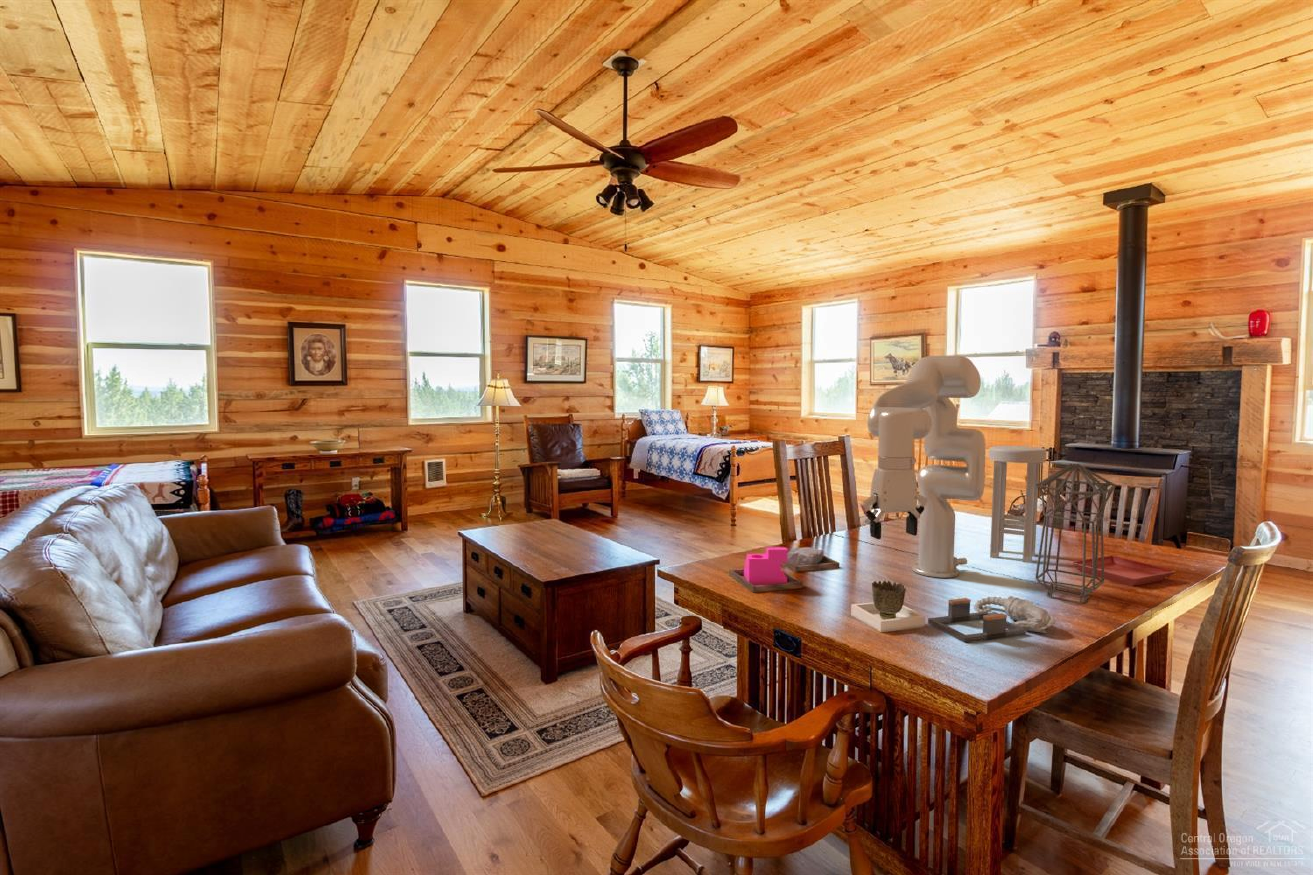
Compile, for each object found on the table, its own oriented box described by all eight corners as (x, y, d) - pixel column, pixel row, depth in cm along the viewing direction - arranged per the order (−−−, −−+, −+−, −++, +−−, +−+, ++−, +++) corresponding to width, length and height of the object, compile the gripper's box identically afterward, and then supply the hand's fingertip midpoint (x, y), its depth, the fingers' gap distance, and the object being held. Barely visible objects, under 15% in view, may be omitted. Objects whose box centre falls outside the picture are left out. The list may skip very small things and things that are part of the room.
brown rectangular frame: (811, 554, 210) (811, 549, 210) (839, 567, 194) (839, 562, 194) (770, 557, 206) (770, 552, 206) (795, 571, 190) (795, 566, 190)
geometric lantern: (1109, 597, 168) (1119, 463, 164) (1096, 613, 156) (1106, 470, 153) (1041, 583, 179) (1048, 457, 175) (1024, 597, 167) (1031, 464, 164)
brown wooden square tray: (774, 570, 191) (774, 565, 191) (802, 587, 175) (802, 582, 175) (729, 574, 187) (729, 569, 187) (753, 592, 171) (753, 586, 171)
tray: (892, 610, 158) (893, 599, 158) (924, 627, 147) (925, 616, 146) (851, 614, 155) (851, 604, 154) (880, 632, 143) (880, 621, 143)
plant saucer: (1134, 589, 174) (1134, 577, 174) (1069, 572, 191) (1070, 561, 191) (1176, 582, 181) (1177, 570, 181) (1110, 565, 198) (1111, 555, 198)
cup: (907, 625, 146) (908, 591, 146) (873, 623, 148) (874, 588, 147) (901, 614, 154) (902, 581, 153) (869, 611, 155) (870, 579, 154)
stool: (989, 547, 218) (994, 444, 215) (1043, 554, 209) (1048, 447, 206) (981, 557, 206) (986, 448, 203) (1037, 565, 197) (1043, 451, 194)
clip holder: (984, 616, 153) (985, 595, 153) (1026, 634, 142) (1027, 612, 141) (927, 623, 149) (928, 602, 149) (965, 643, 137) (966, 620, 137)
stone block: (782, 569, 197) (814, 568, 192) (780, 553, 198) (811, 551, 192) (796, 562, 207) (826, 560, 202) (793, 547, 208) (824, 545, 202)
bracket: (786, 587, 175) (787, 549, 174) (748, 586, 175) (749, 549, 174) (779, 574, 187) (779, 539, 186) (743, 573, 187) (744, 539, 186)
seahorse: (957, 607, 157) (1039, 622, 139) (984, 584, 162) (1066, 596, 145) (964, 626, 157) (1046, 643, 140) (990, 603, 163) (1073, 616, 145)
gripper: (916, 459, 155) (914, 529, 157) (853, 463, 151) (852, 535, 153) (937, 463, 148) (935, 536, 150) (872, 468, 144) (871, 543, 145)
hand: (893, 535), depth 151 cm, fingers open, 9 cm apart
